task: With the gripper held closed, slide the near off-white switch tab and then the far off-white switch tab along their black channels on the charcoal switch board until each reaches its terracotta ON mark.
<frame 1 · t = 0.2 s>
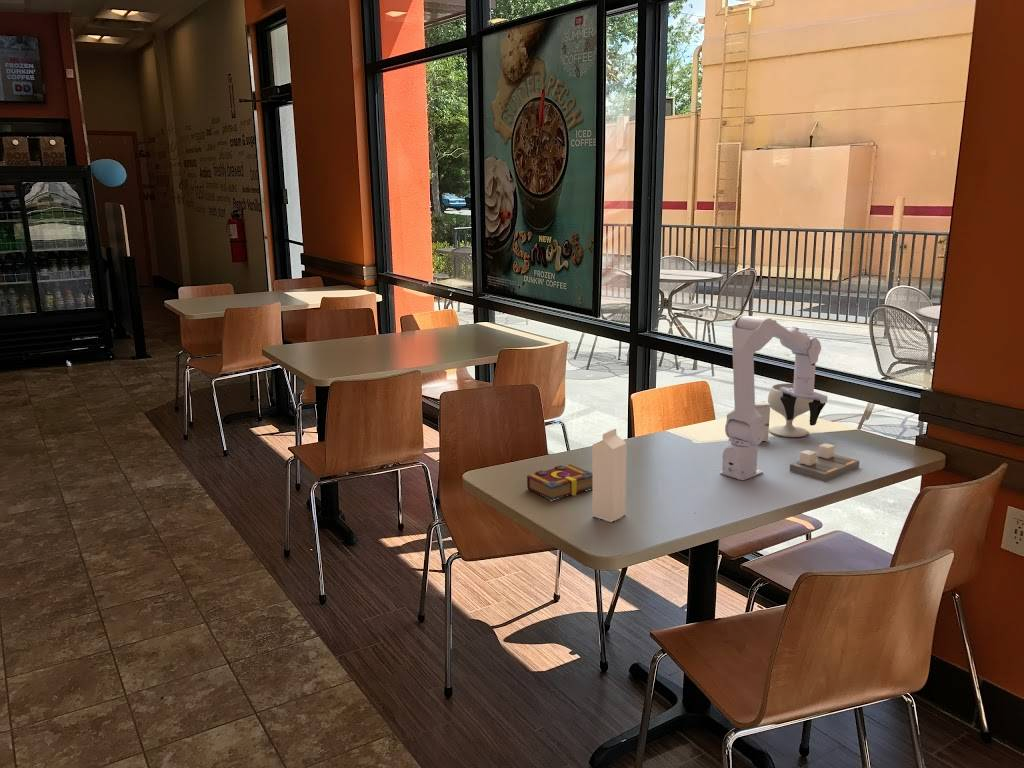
hand: (801, 422, 244), 10 cm above the table, tool pointing down, fingers open, 7 cm apart
tab far: (826, 450, 237), point 4 cm above the table, slide at 0.0 cm
chalice: (788, 433, 268), on the table
tab near: (808, 457, 232), point 4 cm above the table, slide at 0.0 cm
switch board: (824, 469, 234), on the table
skincare box: (756, 440, 261), on the table
decorative book: (562, 490, 224), on the table
milk: (609, 517, 204), on the table
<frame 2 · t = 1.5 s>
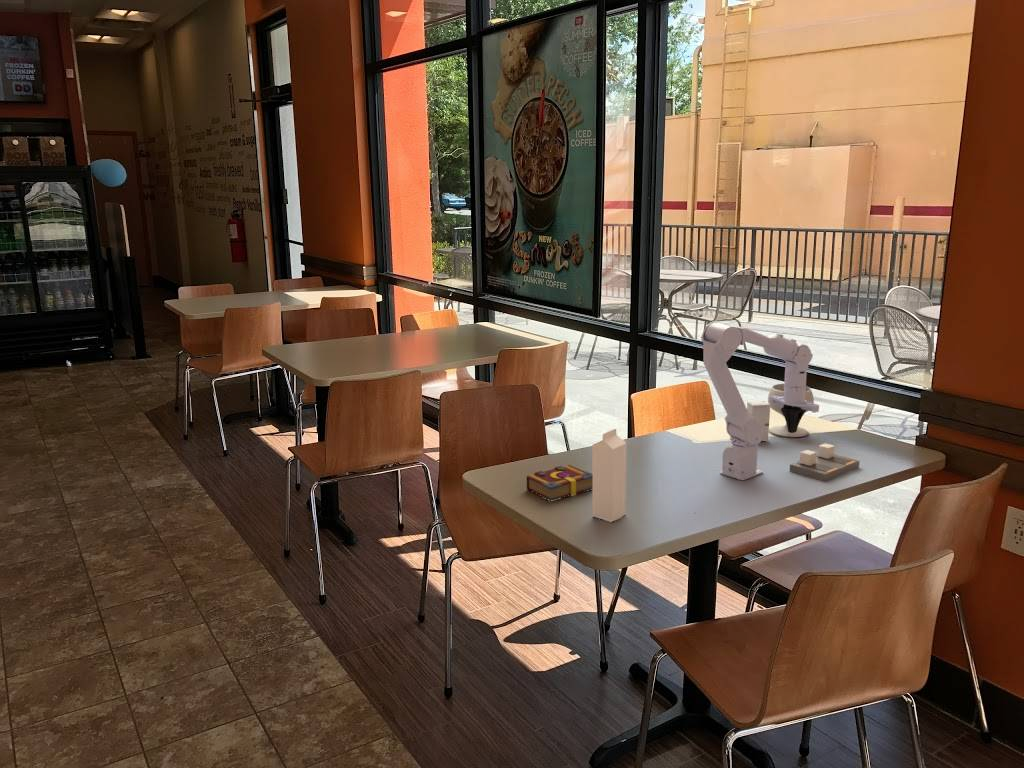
hand: (792, 431, 235), 10 cm above the table, tool pointing down, fingers closed
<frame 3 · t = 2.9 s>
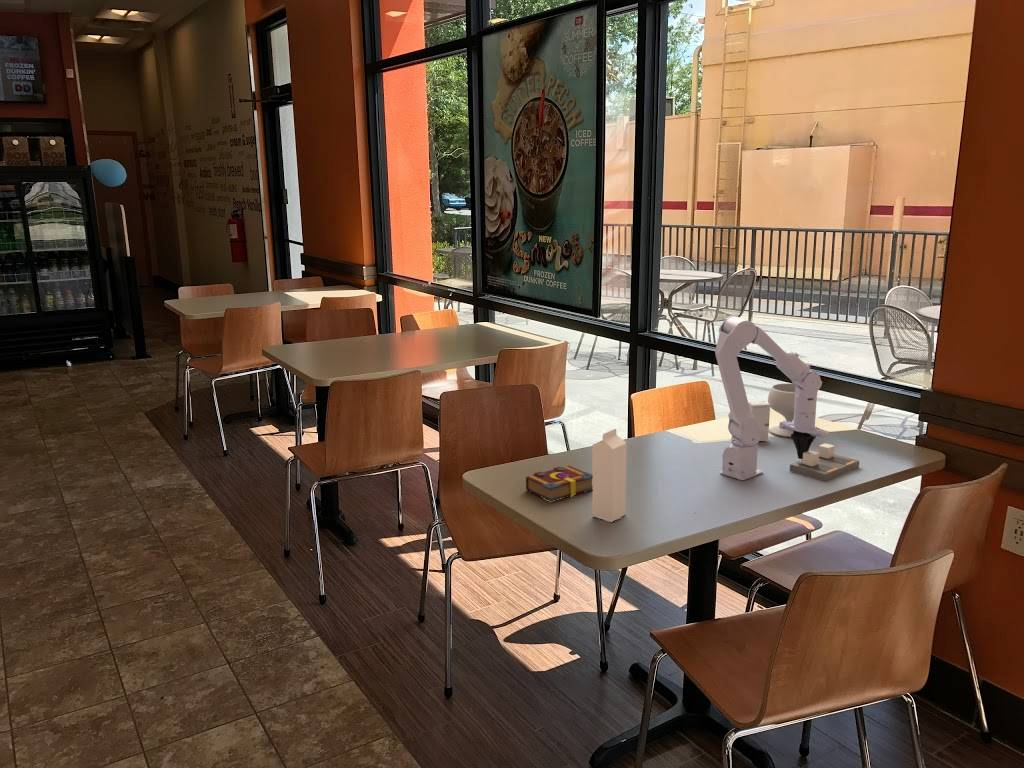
hand: (802, 457, 234), 3 cm above the table, tool pointing down, fingers closed
tab near: (810, 458, 231), point 4 cm above the table, slide at 0.9 cm, touching gripper
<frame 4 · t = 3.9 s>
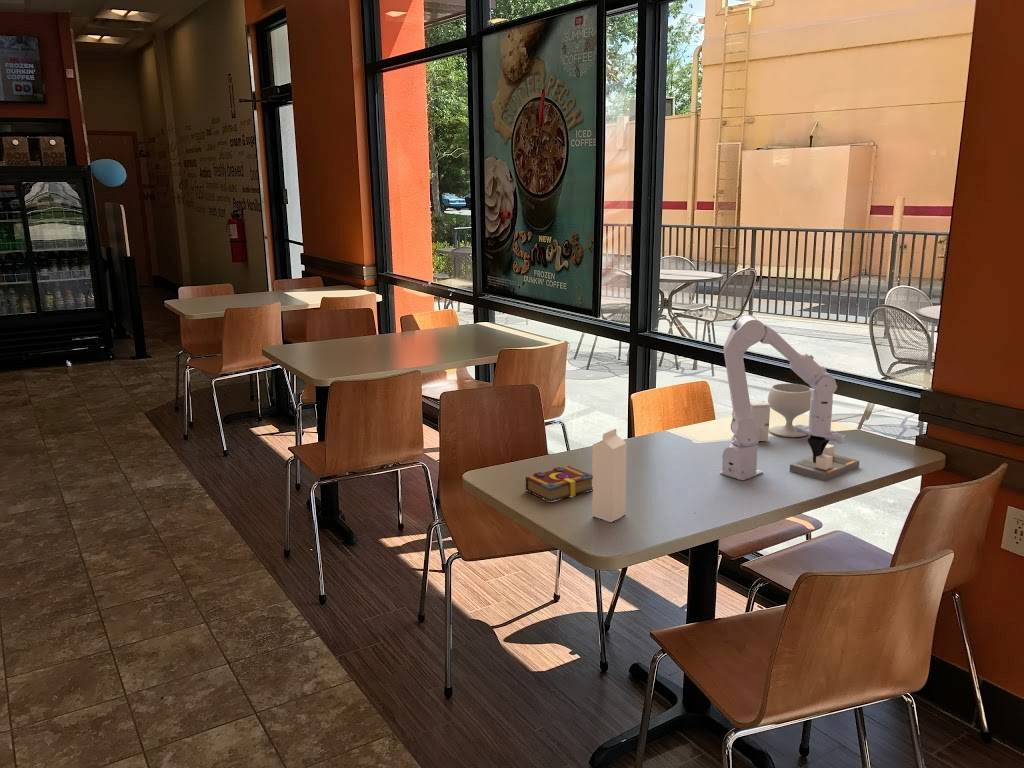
hand: (817, 462, 230), 3 cm above the table, tool pointing down, fingers closed
tab near: (824, 462, 228), point 4 cm above the table, slide at 5.0 cm, touching gripper
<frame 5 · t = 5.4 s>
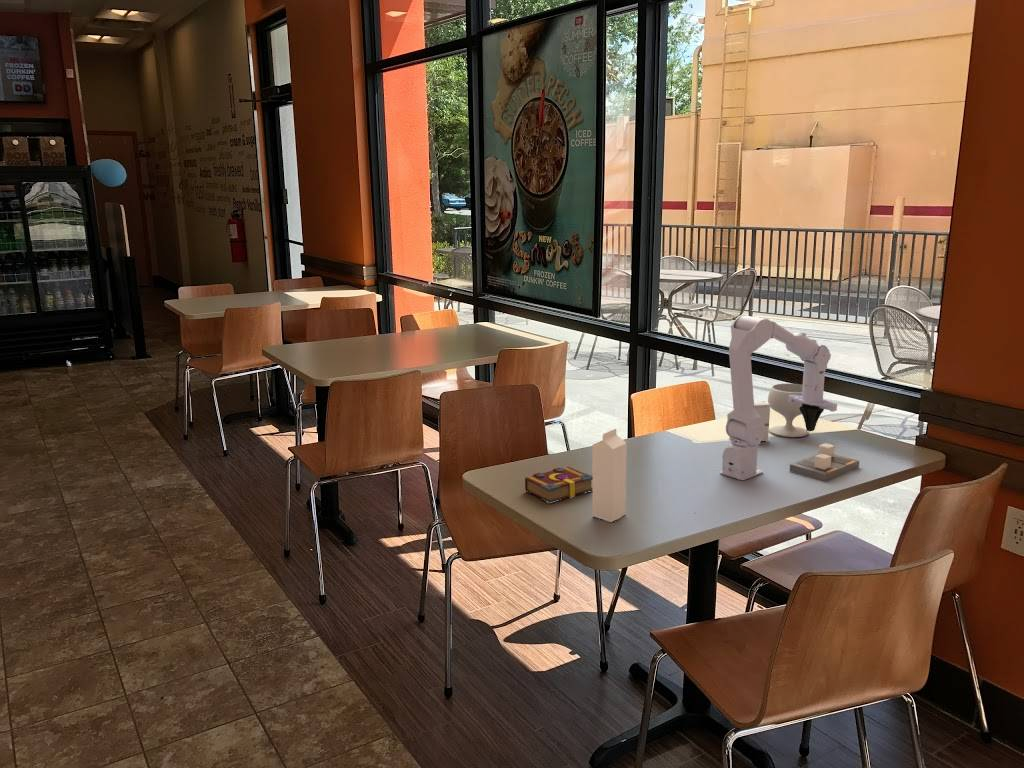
hand: (810, 430, 241), 9 cm above the table, tool pointing down, fingers closed
tab near: (822, 461, 229), point 4 cm above the table, slide at 4.6 cm
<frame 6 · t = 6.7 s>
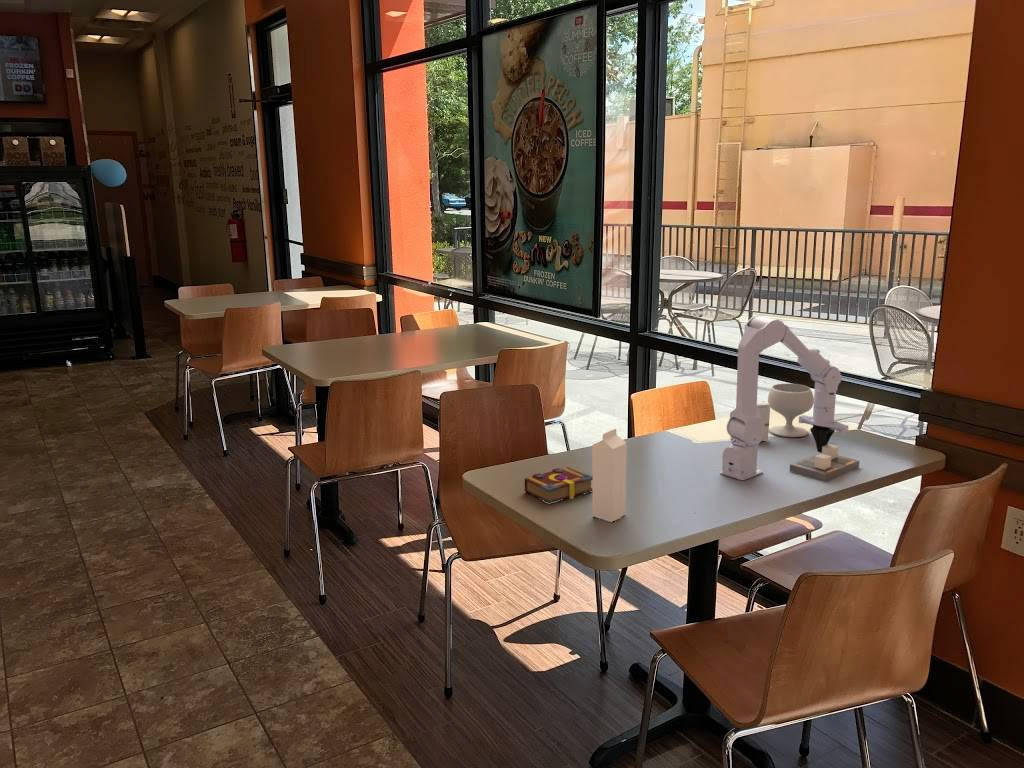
hand: (821, 451, 239), 3 cm above the table, tool pointing down, fingers closed
tab far: (829, 451, 237), point 4 cm above the table, slide at 1.2 cm, touching gripper
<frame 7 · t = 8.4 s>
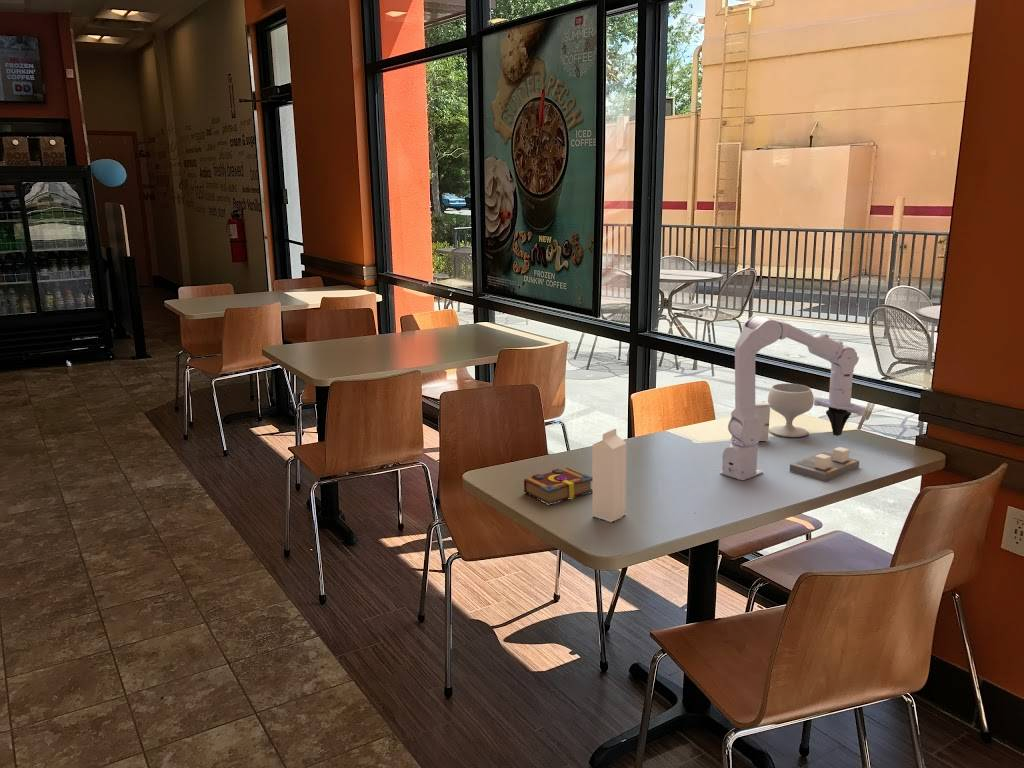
hand: (837, 434, 234), 9 cm above the table, tool pointing down, fingers closed
tab far: (840, 454, 234), point 4 cm above the table, slide at 4.6 cm
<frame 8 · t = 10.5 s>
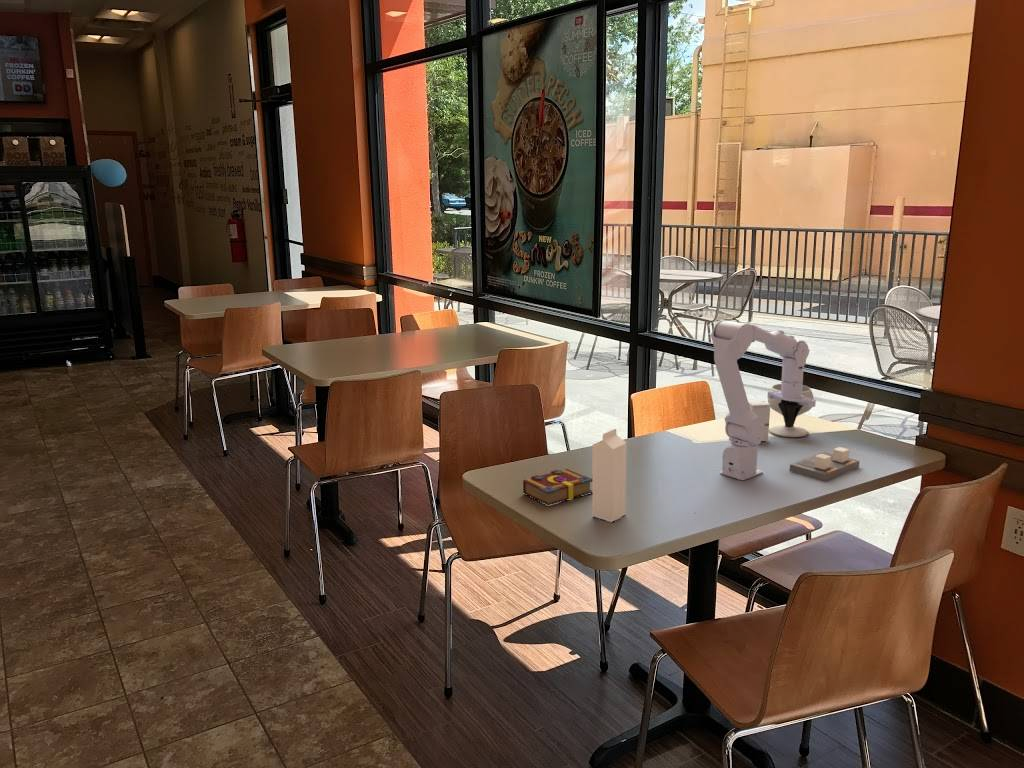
hand: (789, 426, 239), 10 cm above the table, tool pointing down, fingers closed
at the end: tab near slide at 4.6 cm; tab far slide at 4.6 cm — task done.
